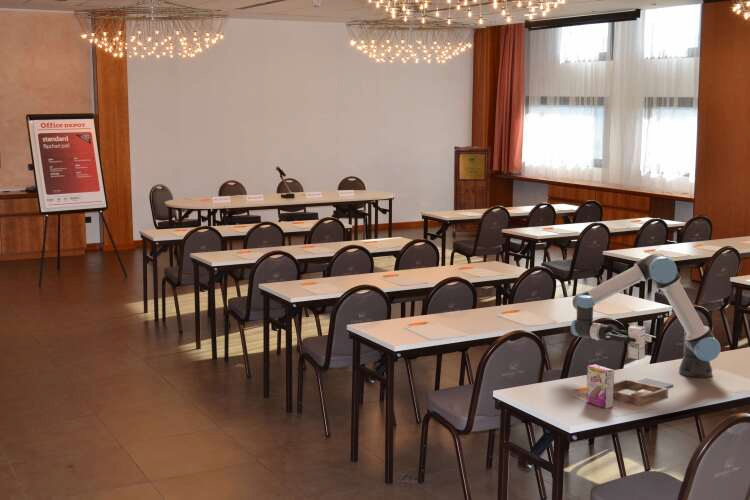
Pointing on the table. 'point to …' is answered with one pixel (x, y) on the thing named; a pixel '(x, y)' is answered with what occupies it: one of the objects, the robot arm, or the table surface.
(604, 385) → the candy bar box
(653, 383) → the grey mat
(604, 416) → the table surface
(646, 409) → the table surface
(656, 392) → the walnut frame
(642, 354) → the syrup box
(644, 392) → the top offcut
